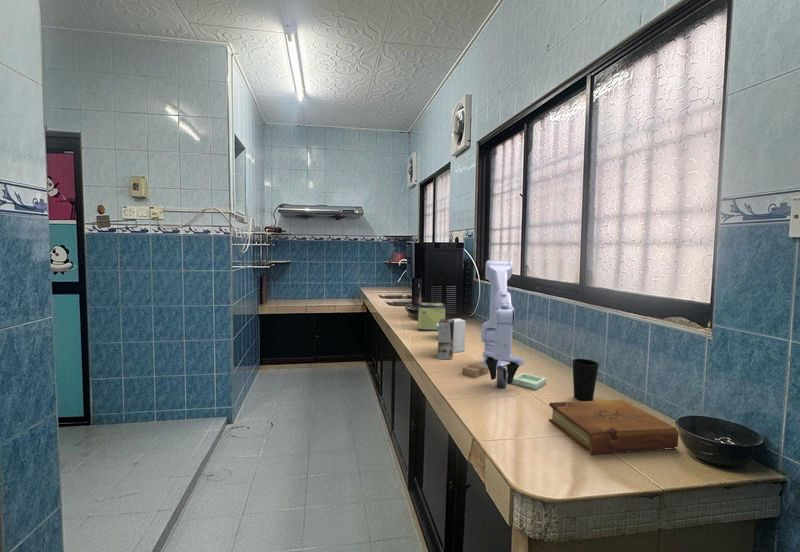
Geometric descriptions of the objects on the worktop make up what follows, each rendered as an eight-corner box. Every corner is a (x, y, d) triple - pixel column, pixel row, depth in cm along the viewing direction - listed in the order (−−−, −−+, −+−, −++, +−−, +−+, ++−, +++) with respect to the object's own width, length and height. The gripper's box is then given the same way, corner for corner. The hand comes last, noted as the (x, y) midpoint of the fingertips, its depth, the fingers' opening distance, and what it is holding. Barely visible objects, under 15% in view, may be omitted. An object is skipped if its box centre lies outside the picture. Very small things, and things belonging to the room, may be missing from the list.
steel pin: (499, 384, 137) (500, 365, 137) (507, 386, 135) (508, 367, 135) (494, 386, 135) (495, 366, 135) (503, 389, 133) (504, 369, 132)
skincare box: (457, 348, 187) (458, 318, 186) (465, 351, 181) (466, 320, 180) (443, 350, 183) (444, 319, 182) (450, 353, 178) (451, 321, 177)
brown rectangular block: (475, 370, 154) (475, 362, 154) (488, 373, 150) (488, 366, 150) (462, 375, 148) (462, 367, 148) (475, 379, 144) (476, 371, 144)
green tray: (522, 377, 145) (522, 372, 145) (546, 383, 139) (546, 378, 139) (511, 383, 139) (511, 378, 138) (535, 390, 133) (536, 384, 132)
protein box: (445, 332, 224) (445, 305, 223) (418, 331, 224) (418, 304, 223) (443, 328, 234) (444, 303, 233) (417, 327, 234) (418, 302, 233)
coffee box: (452, 360, 167) (453, 322, 166) (437, 358, 168) (438, 321, 167) (453, 354, 176) (454, 319, 175) (439, 353, 177) (440, 318, 176)
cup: (585, 404, 121) (588, 366, 121) (565, 395, 128) (567, 360, 127) (601, 400, 125) (603, 363, 124) (580, 392, 132) (583, 357, 131)
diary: (591, 458, 91) (592, 434, 90) (548, 422, 109) (549, 402, 109) (677, 451, 94) (679, 428, 94) (621, 418, 113) (622, 398, 112)
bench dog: (504, 379, 143) (504, 366, 143) (511, 381, 141) (512, 367, 141) (499, 381, 140) (499, 368, 140) (506, 383, 138) (507, 370, 138)
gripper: (478, 340, 136) (477, 378, 137) (517, 348, 126) (515, 389, 127) (488, 337, 141) (487, 374, 142) (527, 345, 132) (525, 384, 132)
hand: (501, 381), depth 135 cm, fingers open, 6 cm apart
